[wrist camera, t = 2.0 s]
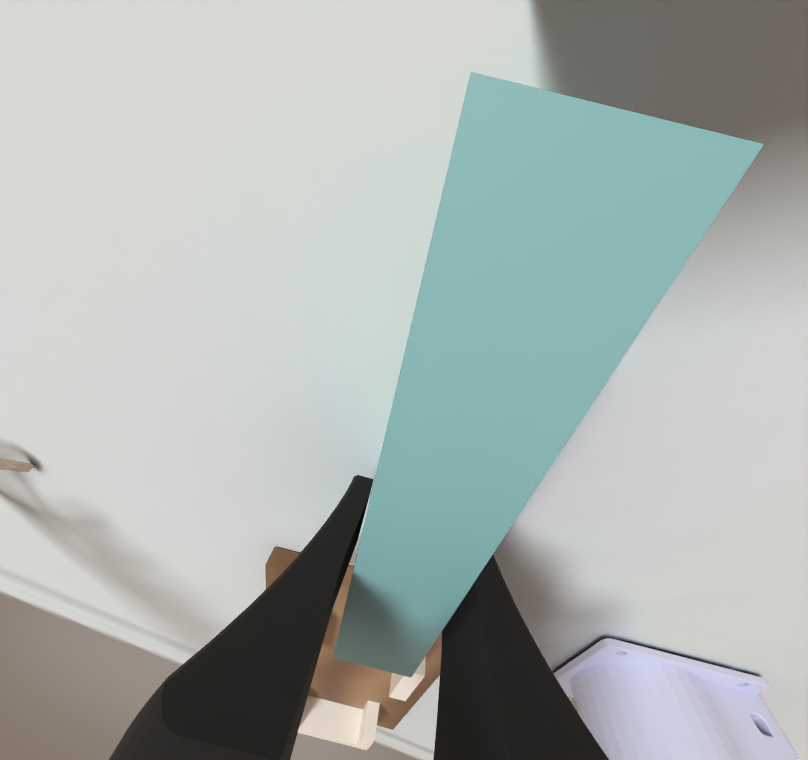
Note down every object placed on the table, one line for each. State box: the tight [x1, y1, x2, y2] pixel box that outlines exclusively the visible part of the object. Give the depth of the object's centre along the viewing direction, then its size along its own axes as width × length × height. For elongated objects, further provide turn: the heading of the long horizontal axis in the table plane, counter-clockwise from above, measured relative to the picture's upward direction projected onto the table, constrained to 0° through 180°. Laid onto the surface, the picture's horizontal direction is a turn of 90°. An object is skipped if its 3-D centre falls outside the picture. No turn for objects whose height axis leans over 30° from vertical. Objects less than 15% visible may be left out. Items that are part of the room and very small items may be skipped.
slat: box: [333, 72, 764, 677], centre depth 9 cm, size 3×16×5 cm, turn 168°
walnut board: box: [266, 547, 442, 729], centre depth 22 cm, size 12×24×1 cm, turn 167°
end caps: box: [298, 656, 426, 750], centre depth 21 cm, size 7×19×2 cm, turn 167°
